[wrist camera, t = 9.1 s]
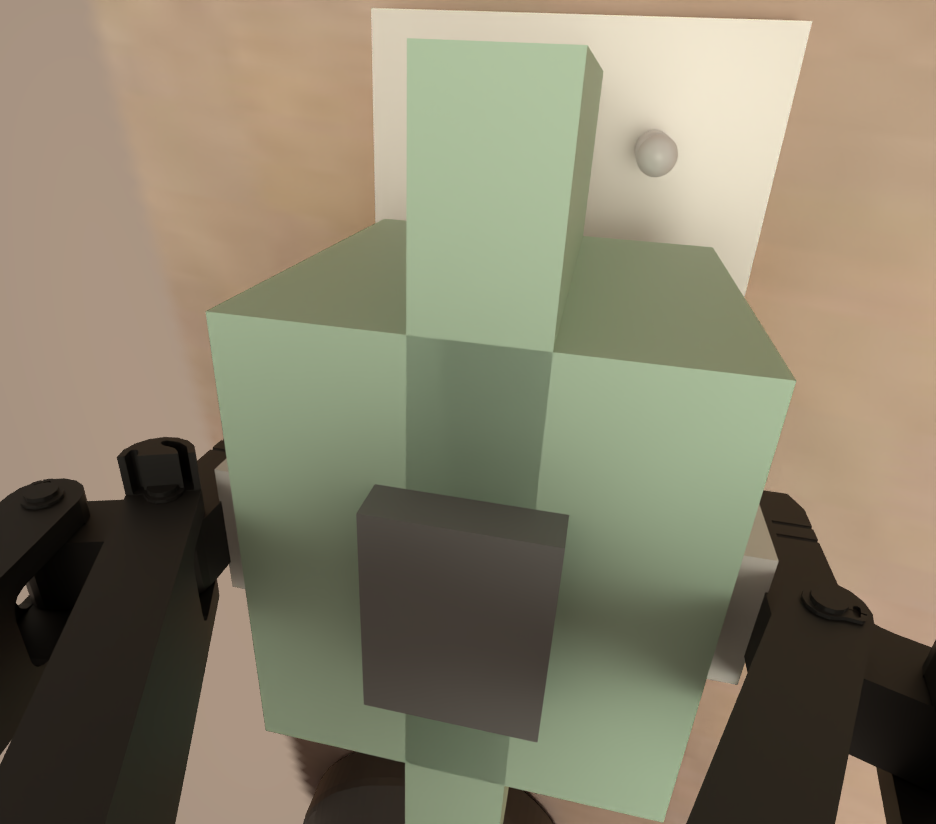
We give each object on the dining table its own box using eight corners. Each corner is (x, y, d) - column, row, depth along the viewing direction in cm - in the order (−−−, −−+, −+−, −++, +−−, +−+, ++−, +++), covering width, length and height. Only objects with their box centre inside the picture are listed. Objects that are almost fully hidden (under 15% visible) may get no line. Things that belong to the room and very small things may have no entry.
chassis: (670, 561, 26) (680, 653, 22) (392, 514, 28) (351, 591, 24) (798, 26, 18) (855, 4, 14) (387, 13, 20) (321, -10, 16)
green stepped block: (628, 640, 21) (633, 968, 13) (389, 595, 22) (263, 868, 14) (749, 77, 13) (928, 51, 6) (382, 61, 15) (119, 21, 7)
